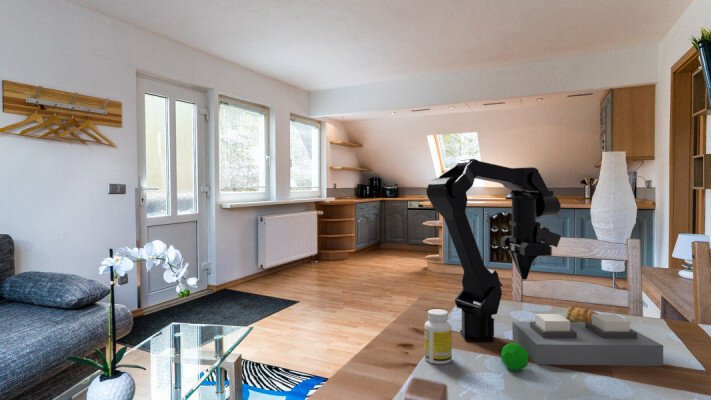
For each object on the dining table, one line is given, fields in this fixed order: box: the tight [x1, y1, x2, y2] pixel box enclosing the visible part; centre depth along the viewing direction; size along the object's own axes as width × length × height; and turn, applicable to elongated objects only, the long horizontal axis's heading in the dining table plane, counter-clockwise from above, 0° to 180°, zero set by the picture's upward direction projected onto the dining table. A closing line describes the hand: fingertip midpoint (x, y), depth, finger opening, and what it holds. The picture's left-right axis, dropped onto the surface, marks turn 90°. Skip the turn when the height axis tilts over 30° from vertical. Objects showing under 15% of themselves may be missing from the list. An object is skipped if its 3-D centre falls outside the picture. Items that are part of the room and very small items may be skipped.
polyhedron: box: [500, 342, 530, 372], centre depth 77 cm, size 5×5×5 cm
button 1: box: [535, 313, 570, 331], centre depth 85 cm, size 5×5×3 cm
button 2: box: [592, 313, 631, 332], centre depth 85 cm, size 5×5×3 cm
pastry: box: [565, 305, 599, 322], centre depth 104 cm, size 9×7×4 cm
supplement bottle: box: [423, 308, 453, 365], centre depth 82 cm, size 5×5×10 cm
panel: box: [511, 321, 664, 367], centre depth 85 cm, size 24×14×5 cm, turn 87°
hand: (524, 279), depth 101 cm, fingers closed
